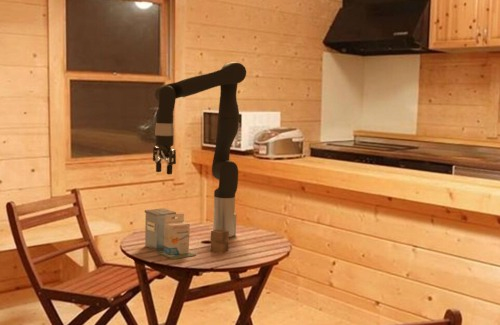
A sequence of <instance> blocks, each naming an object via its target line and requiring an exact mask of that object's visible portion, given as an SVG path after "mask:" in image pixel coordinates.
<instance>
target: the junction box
mask: <svg viewBox="0 0 500 325" xmlns="http://www.w3.org/2000/svg"><path fill="white" fill-rule="evenodd" d="M144 213H145V225H144V226H145V227H144V228H145V229H144V230H145V231H144V236H145V237H144V239H145V240H144V243H145V244H144V245H145V248H148V249H150V250H153V251H155V252H157V251H163V250H164V228H165V216H166V215H171V214H177V212H176V211H173V210H169V209H166V208H164V207H163V208H155V209H152V208H151V209H144ZM171 219H176V217H175V216H174V217H172V218H171Z"/></svg>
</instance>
